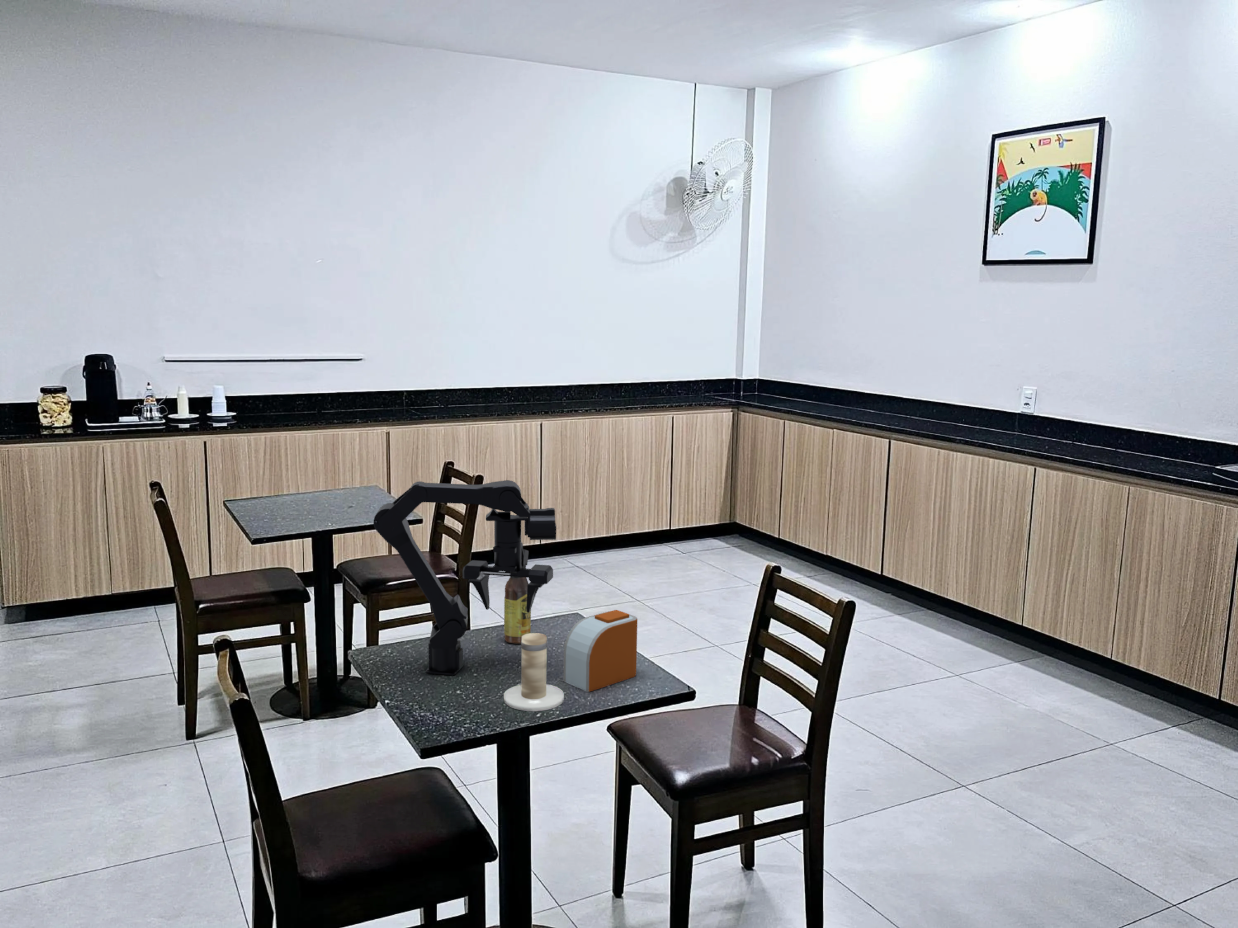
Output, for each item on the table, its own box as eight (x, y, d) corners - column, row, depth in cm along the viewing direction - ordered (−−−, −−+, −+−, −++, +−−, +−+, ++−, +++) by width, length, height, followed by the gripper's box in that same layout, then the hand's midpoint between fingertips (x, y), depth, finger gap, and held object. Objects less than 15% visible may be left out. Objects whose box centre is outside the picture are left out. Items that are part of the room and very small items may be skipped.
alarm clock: (613, 664, 222) (614, 605, 220) (640, 675, 216) (641, 614, 214) (562, 680, 212) (562, 619, 210) (588, 692, 206) (589, 629, 204)
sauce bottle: (526, 645, 233) (526, 562, 230) (500, 643, 234) (500, 561, 231) (534, 636, 239) (534, 556, 236) (509, 634, 240) (509, 554, 237)
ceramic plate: (496, 708, 197) (496, 703, 197) (513, 685, 208) (513, 680, 208) (555, 713, 195) (555, 708, 195) (569, 690, 206) (569, 685, 206)
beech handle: (515, 695, 201) (515, 638, 199) (530, 687, 205) (531, 631, 203) (537, 701, 198) (537, 643, 196) (551, 692, 202) (552, 635, 201)
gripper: (559, 534, 220) (559, 602, 222) (478, 529, 223) (478, 597, 226) (546, 546, 209) (546, 618, 212) (461, 540, 212) (462, 611, 215)
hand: (508, 610), depth 216 cm, fingers open, 9 cm apart
